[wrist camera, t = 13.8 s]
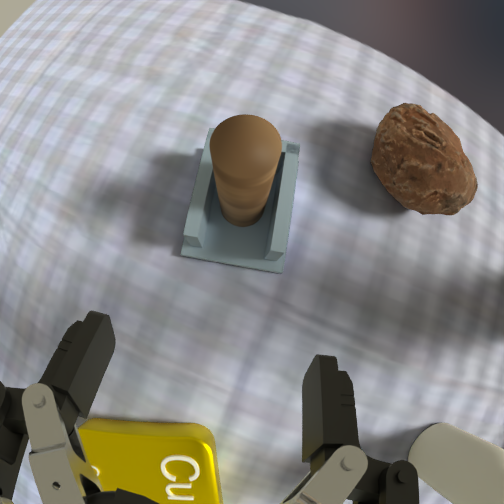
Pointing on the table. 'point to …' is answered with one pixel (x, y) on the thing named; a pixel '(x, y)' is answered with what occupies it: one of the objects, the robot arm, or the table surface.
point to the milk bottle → (459, 465)
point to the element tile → (154, 459)
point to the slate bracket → (241, 238)
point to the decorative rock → (422, 162)
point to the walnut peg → (244, 166)
